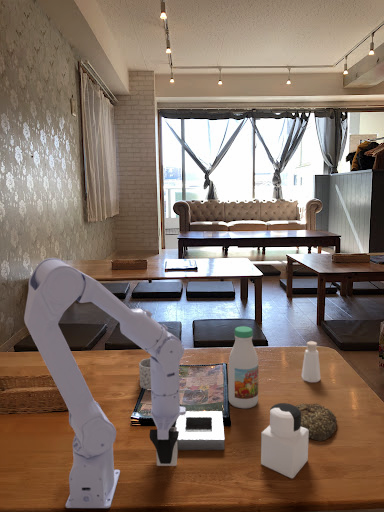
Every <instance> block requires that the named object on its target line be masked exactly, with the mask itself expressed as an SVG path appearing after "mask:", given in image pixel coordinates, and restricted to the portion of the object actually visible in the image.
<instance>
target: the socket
mask: <svg viewBox="0 0 384 512" xmlns="http://www.w3.org/2000/svg"><path fill="white" fill-rule="evenodd" d="M223 421H224V419H223V411H221V410H220V411H217V410H216V411H215V410H214V411H213V410H212V411H209V410H208V411H203V410H201V411H200V410H199V411H198V410H197V411H193V410H192V411H189V410H188V411H186V414H185V415H180V416H179V417H178V418H177V421H176V427H177V431H179V436H178V439H177V449H178V451H224V450H225V431H224V430H225V429H224V422H223Z"/></svg>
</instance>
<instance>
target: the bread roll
mask: <svg viewBox="0 0 384 512" xmlns="http://www.w3.org/2000/svg"><path fill="white" fill-rule="evenodd" d="M295 406H296V407H297V408H298V409H299V410H300V411H301V427H304V428H306V429H308V430H309V436H308V439H309V438H310V439H312V440H315V441H322V442H323V441H326V440H327V439H329V438H331V436H332V435H333V434H334V433H335V432H336V429H337V428H336V427H337V417H336V416H335V414H334V412H332V410H331V409H329V408H326V407H325V406H323V405H322V404H318V403H316V402H315V403H309V404H308V403H301V404H297V405H295Z"/></svg>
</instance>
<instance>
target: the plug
mask: <svg viewBox="0 0 384 512" xmlns="http://www.w3.org/2000/svg"><path fill="white" fill-rule="evenodd" d="M170 431H177V427H171V428H170ZM155 451H156V453H155V455H156V456H155V457H156V466H158V467H160V466H161V467H163V466H164V467H165V466H166V467H168V466H169V467H176V466H177V465H178V464H177V462H178V451H179V450H178V449H177V441H176V443H175V445H174V448H173V454H172V460H171V463H170V464H161V463H160V461H159V458H158V454H157V450H156V449H155Z"/></svg>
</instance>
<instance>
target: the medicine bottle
mask: <svg viewBox="0 0 384 512" xmlns="http://www.w3.org/2000/svg"><path fill="white" fill-rule="evenodd" d="M296 406H297V405H294V404H292V403H286V402H285V403H284V402H280V403H276V404H274V405H273V406H271V408H270V410H269V413H270V414H269V425H268V426H267V427H266V428H265V429H264V430H262V431H261V433H260V435H261V436H260V464H261V465H262V466H263V467H266V468H268V469H270V470H272V471H275V472H277V473H279V474H281V475H283V476H285V477H288V478H290V479H294V478H295V477H296V475H297V474H298V473H299V472H300V470H301V469H302V468H303V467H304V466H305V465H306V463H307V462H308V459H309V458H308V457H309V437H308V436H309V430H308V429H306V428H304V427H301V411H300V410H299V409H298V408H297V407H296Z"/></svg>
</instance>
